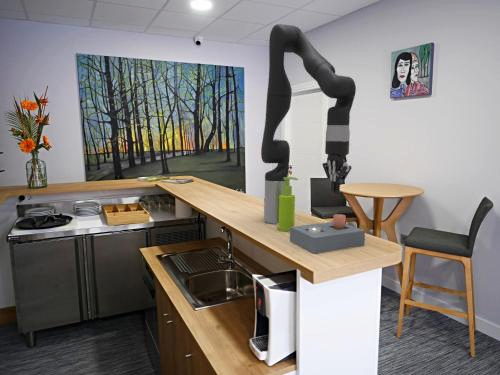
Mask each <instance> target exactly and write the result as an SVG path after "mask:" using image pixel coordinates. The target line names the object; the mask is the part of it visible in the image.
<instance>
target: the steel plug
mask: <svg viewBox="0 0 500 375" xmlns="http://www.w3.org/2000/svg"><path fill="white" fill-rule="evenodd" d="M308 231H309V232H311V233H319V232H321V228H320V227H317V226H311V227H309V229H308Z"/></svg>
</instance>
